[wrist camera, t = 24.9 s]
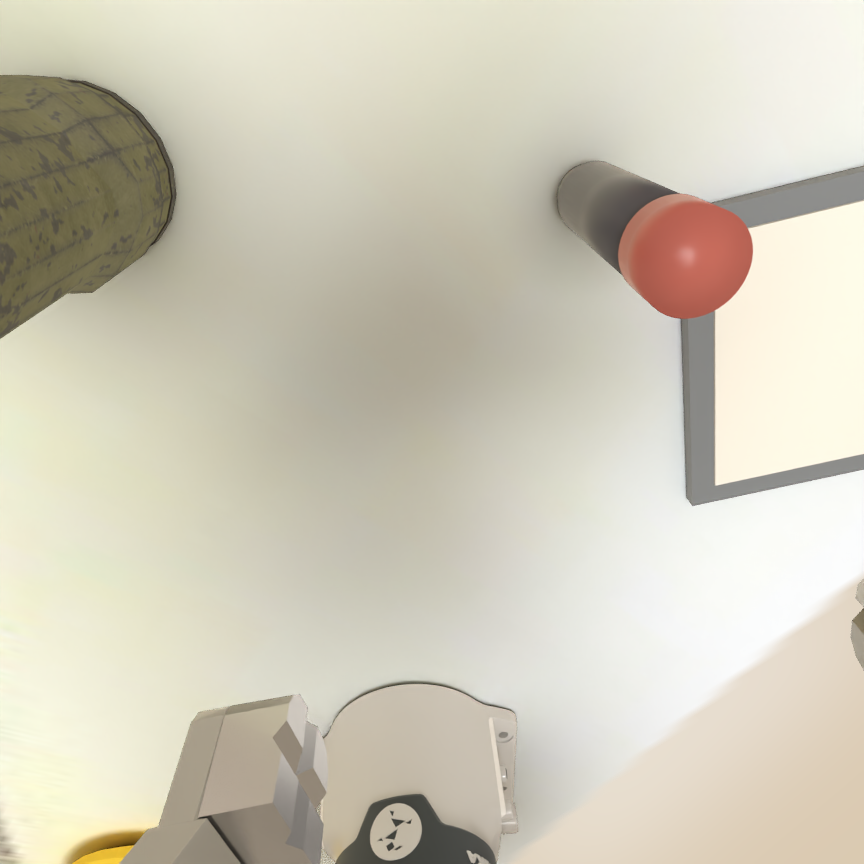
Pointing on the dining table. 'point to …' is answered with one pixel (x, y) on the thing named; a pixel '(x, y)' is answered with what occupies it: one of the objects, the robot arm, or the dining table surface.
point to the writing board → (782, 348)
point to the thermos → (73, 191)
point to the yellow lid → (105, 856)
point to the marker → (658, 238)
